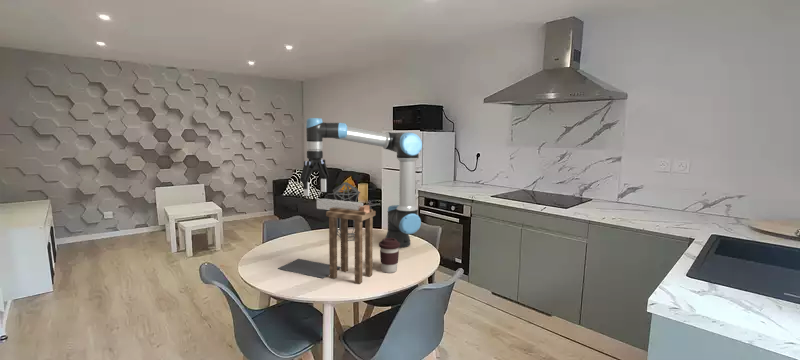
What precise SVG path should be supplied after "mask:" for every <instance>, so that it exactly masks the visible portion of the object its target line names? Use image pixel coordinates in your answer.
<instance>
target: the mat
mask: <svg viewBox="0 0 800 360" xmlns="http://www.w3.org/2000/svg"><path fill="white" fill-rule="evenodd" d="M277 270H279V271H286V272H290V273H294V274H300V275H303V276H308V277H313V278H319V279H325V278H326V277H328V276H330V263H324V262H317V261H313V260H306V259H301V258H297V259H295V260H292V261H290V262H288V263H285V264H283V265H282V266H280V267H278V268H277ZM338 270H341V265H340V266H338V265H337V271H338Z"/></svg>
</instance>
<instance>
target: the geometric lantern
mask: <svg viewBox="0 0 800 360" xmlns="http://www.w3.org/2000/svg"><path fill="white" fill-rule="evenodd" d="M350 191H351V192H350ZM345 192H347V193H345ZM353 192H354V193H353ZM332 193H333V198H334V200H338V198H340V200H341V201H347V200H348V201H351V202H358V198H359V196H360V194H361V192H360V191H359V190H358V188H357V187H355V186H353V185H352V184H350V183H349V182H347V181H346V182H345V181H344V182H343V183H341V184H339V185H338V186H337V187H335V188H334V189H332ZM337 196H338V198H337ZM345 196H347V197H348V198H347V197H346V198H345ZM354 196H356V198H355V200H353V199H352V198H354ZM352 221H353V224H352V225H353V227H351V228H350V227H348V230H352V232H348V242H350V241H355V220H352ZM337 237H339V238H340V239H341V218H337ZM349 238H353V239H349Z"/></svg>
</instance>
